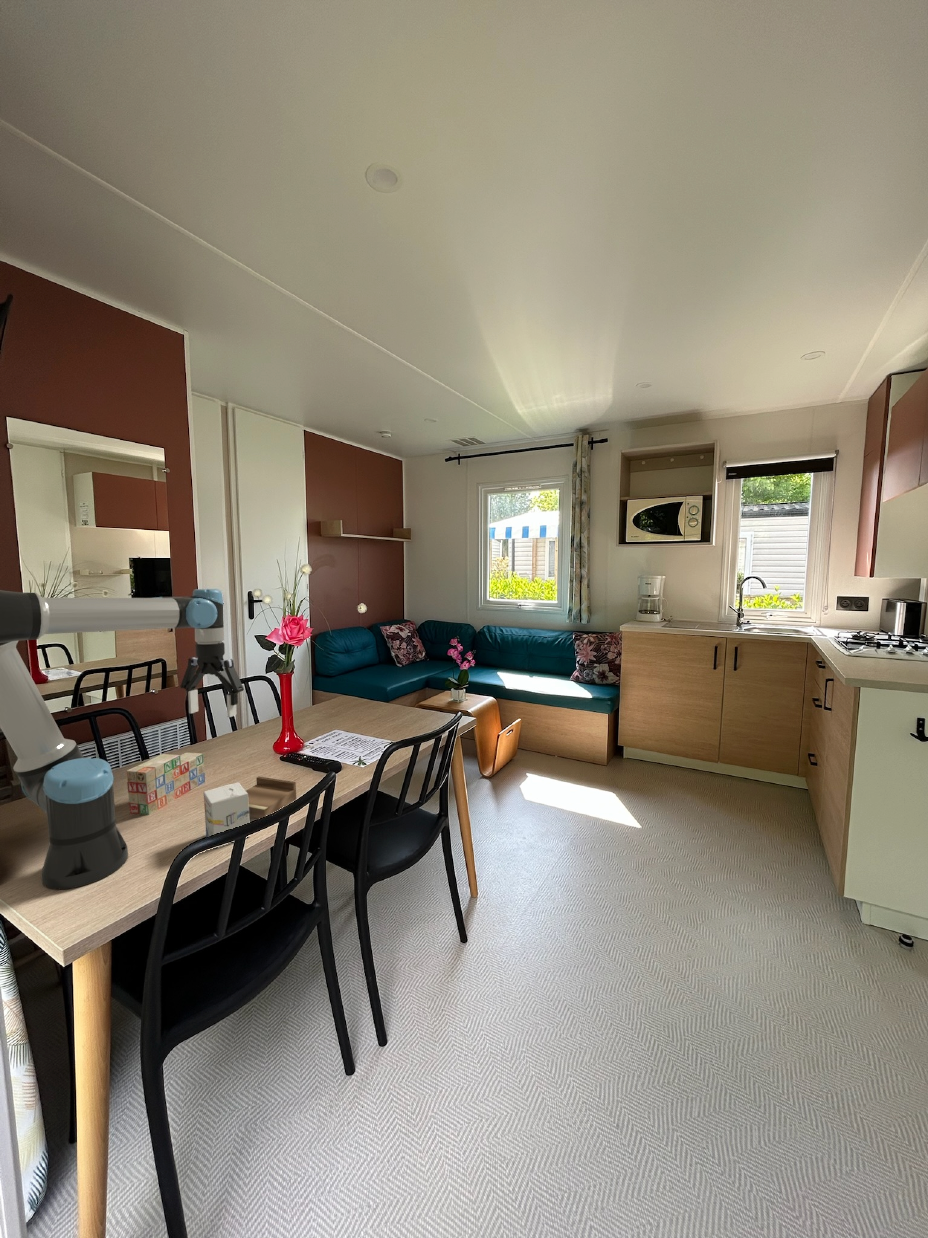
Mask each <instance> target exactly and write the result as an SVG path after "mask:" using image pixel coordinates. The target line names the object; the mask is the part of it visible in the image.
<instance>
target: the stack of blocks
mask: <svg viewBox="0 0 928 1238" xmlns="http://www.w3.org/2000/svg"><path fill="white" fill-rule="evenodd" d="M205 775H206V773H205V763H204V754H203V753H201V752H200V753H198V752H184V753H182V754H168V753H166V754H165V753H162V754H159V755H157V756H155V757H153V758H151V759H148V760H147V761H145V762H143V763H141V764H138V765H137V766H134V767H132V768H130V769H127V770H126V777H127V778H126V779H127V782H126V783H127V785H126V786H127V792H128V802H129V803H128V805H129V813H130V814H136V815H137V814H138V815H148V816H150V815H151V814H152V813H155V812H157V811H158V810H160V809H162V808H163V807H165V806H167V805H169V804H170V803H172V802H173V801H176V799H178V798H180V797H182V796H183V795H185V794H187V793H188V792H190V791H191V790H193V789H195V788H197V787H199V786H200V785H202V784H203V783H205V782H206V777H205Z"/></svg>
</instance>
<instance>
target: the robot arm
mask: <svg viewBox="0 0 928 1238" xmlns="http://www.w3.org/2000/svg"><path fill="white" fill-rule="evenodd" d="M224 627H225V626H224V599H223V592H222V590H221V589H218V588H196V589H193V591H192V595H191V596H159V597H156V596H155V597H43V596H41V595H40V594H39V593H37V592H19V591H10V590H2V589H0V729H1V732H2V733H3V735H4V736H5V738H6V740H7V741H8V744H9V745H10V746H11V749H12V751H14V754H15V756H16V757H17V760H16V761H15V764H14V765H13V767H12V769H13V771H14V772H15V774H16V776H17V777H18V780H19V781H20V783H21V784H20V786H21V790H22V793H24V796H25V797H26V798H27V799H28V800H29V801H31V802H33V803H34V804H35V805H37V807H39V808H40V809H41V810H42V811H43V812H44V813H45V815H46V819H47V820H46V821H47V830H48V839H49V841H48V842H49V845H48V849H47V852H46V854H45V855H46V856H45V859H44V862H43V866H42V869H41V873H40V874H41V882H42V885H43V887H45V888H48V889H51V890H67V889H68V890H69V889H73V888H78V887H82V886H86V885H89V884H92V883H95V882H97V881H100V880H103V879H105V878H107V877H108V876H110V875H112V874H113V873H115V872H117V870H119V869H120V868H122V867H123V866H124V865H125V864H126V862H127V861H128V858H129V849H128V845H127V843H126V841H125V838H124V837H123V836H122V834H121V831H120V830H119V828H118V827H117V818H116V806H115V791H114V780H115V778H114V773H113V771H112V767H111V765H110V763H109V762H108V761H106V760H105V759H102V758H96V757H94V758H92V757H84V756H83V754H82V752H81V750H80V748H79V746H78V745H77V743H76V741H75V740H73V739H68V738H64V736H63V734H62V732H61V730H60V728H59V727H58V724H57V723H56V721H55V719H54V717H53V715H52V712H50V709H49V708H48V706H47V704H46V702H45V699H44V698H43V696H42V695H41V692H40V690H39V688H38V687H37V685H36V683H35V681H34V680H33V678H32V676H31V673H30V672H29V670H28V668H27V666H26V664H25V662H24V660H23V659H22V657H21V654H20V653H19V651H18V648H17V646H18V642H19V641H31V640H33V641H35V640H40V639H41V638H42V636H44V635H54V634H55V635H56V634H76V633H77V634H78V633H98V632H100V633H101V632H119V631H120V632H121V631H141V630H163V629H164V630H165V629H187V628H189V629H191V628H194V641H195V642H196V643H195V644H194V646H195V647H194V648H195V656H194V657H190V658H188V661H187V667H186V669H185V672H184V676H183V678H182V681H181V683H180V688H181V689H184V690H185V691H186V699H187V700H186V701H187V702H188V714H195V713H196V712H197V713H198V712H199V694H198V693H199V692H198V691H199V690H198V689H197V687H198V685H199V683H200V682H201V681H202V680H203V678H204V676H205V675H211V676H215V677H217V679H218V680H219V681H220V682H221V684H222V685H223V687H224V688H225V690H226V691H227V694H226V710H227V711H226V712H227V715H226V716H227V718H232V717H234V716H236V715H237V705H238V703H239V700H238V699H239V698H238V695H239V693H241V692H243V691H244V690H245V689H244V686H243V684H242V682H241V679H240V677H239V675H238V673H237V670H236V667H235V663H234V660H233V659H232V658H230V659H224V655H225V654H226V653H225V652H226V651H225V650H226V649H225V643H224V642H223V641H225V631H224V629H225V628H224Z"/></svg>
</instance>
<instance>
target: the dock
mask: <svg viewBox="0 0 928 1238" xmlns="http://www.w3.org/2000/svg"><path fill="white" fill-rule="evenodd" d="M255 781H256V784H255V785H253V786H251V787H250V788H248V789H245V791H246V792H247V793H248V802H249V819H253V820H259V818H262V817H265V816H266V815H269V814H271V813H273V812H275V811H277V810H279V809H280V808H282V807H283V806H285V807H287V806H288V805H290V804H291V803H293V802H294V801H295V800H296V799H297V784H296V781H291V780H284V779H278V778H272V777H266V776H265V777H264V776H257V777H256V780H255ZM286 805H287V806H286ZM282 809H283V808H282Z"/></svg>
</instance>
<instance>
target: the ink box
mask: <svg viewBox="0 0 928 1238" xmlns="http://www.w3.org/2000/svg"><path fill="white" fill-rule="evenodd" d="M203 804H204V805H203V806H204V807H203V808H204V818H205V819H204V822H205V836H206V838H207V837H208V836H211V835H214V834H216V833H220V832H224V831H225V830H228V829H233V828H234V827H239V826H242V825H244V824H247V823H250V819H251V818H249V802H248V793H247V792H246V789H245V788H244V787H243V786H242V785H241V783H240V782H239V781H238V782H235V783H231V784H230V783H229V784H225V785H222V786H219V787H215V788H212V789H209V790H205V791H203ZM250 824H251V823H250ZM231 844H233V843H228V844H226V845H224V846H220V847H218V848H217V849H219V848H222V847H226V846H228V845H231Z"/></svg>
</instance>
